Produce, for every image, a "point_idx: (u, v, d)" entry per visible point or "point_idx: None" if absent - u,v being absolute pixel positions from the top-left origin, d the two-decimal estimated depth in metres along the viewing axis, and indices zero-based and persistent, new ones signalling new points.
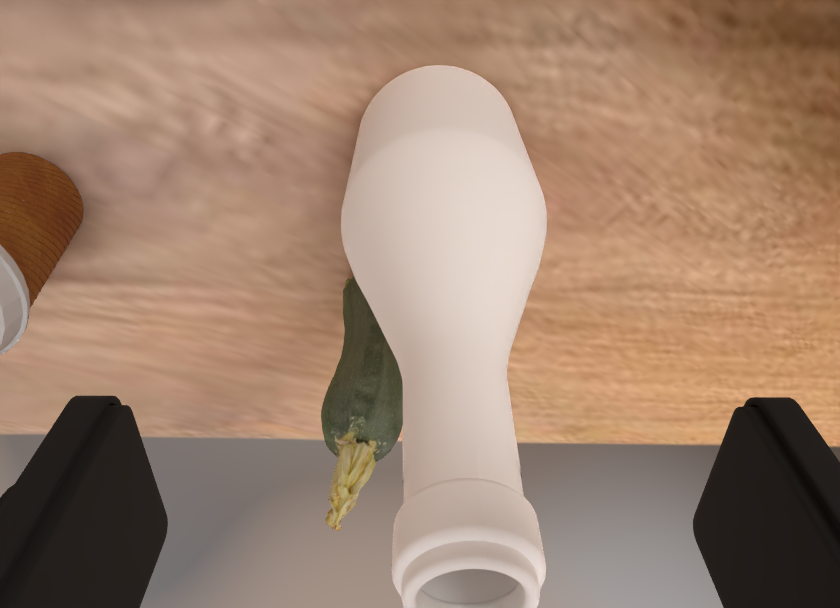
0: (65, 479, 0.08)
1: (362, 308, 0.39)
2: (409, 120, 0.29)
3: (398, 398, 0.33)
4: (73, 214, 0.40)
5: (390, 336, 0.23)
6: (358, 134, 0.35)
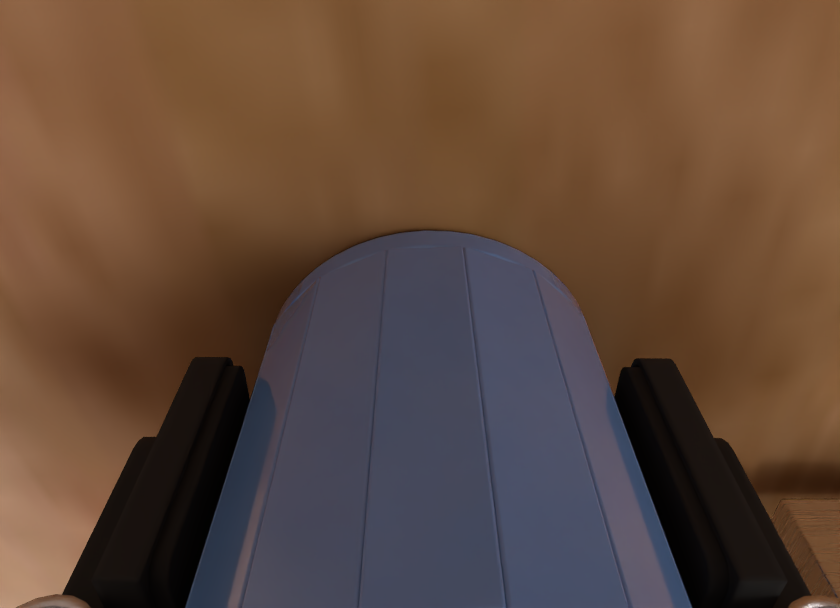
0: (199, 430, 0.09)
1: None
2: None
3: None
4: None
5: None
6: None
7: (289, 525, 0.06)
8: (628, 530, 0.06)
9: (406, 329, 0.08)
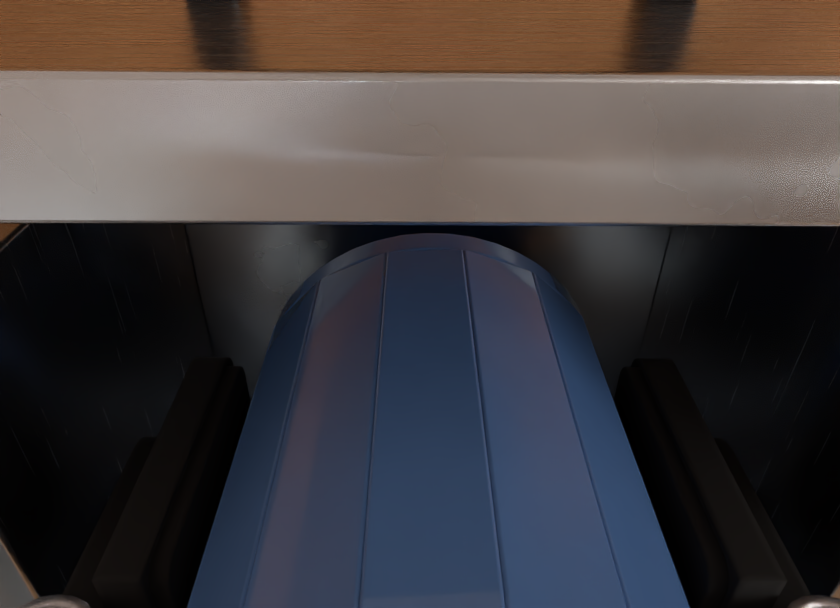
0: (199, 430, 0.09)
1: None
2: None
3: None
4: None
5: None
6: None
7: (290, 528, 0.06)
8: (627, 533, 0.06)
9: (405, 331, 0.08)
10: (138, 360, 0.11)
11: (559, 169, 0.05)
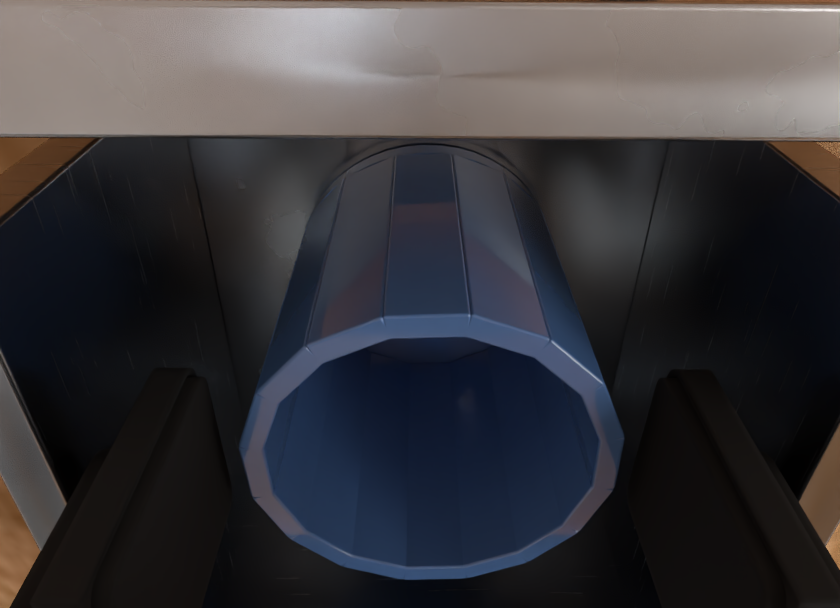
0: (155, 443, 0.09)
1: None
2: None
3: None
4: None
5: None
6: None
7: (336, 293, 0.10)
8: (554, 304, 0.10)
9: (410, 197, 0.12)
10: (157, 311, 0.12)
11: (537, 87, 0.06)
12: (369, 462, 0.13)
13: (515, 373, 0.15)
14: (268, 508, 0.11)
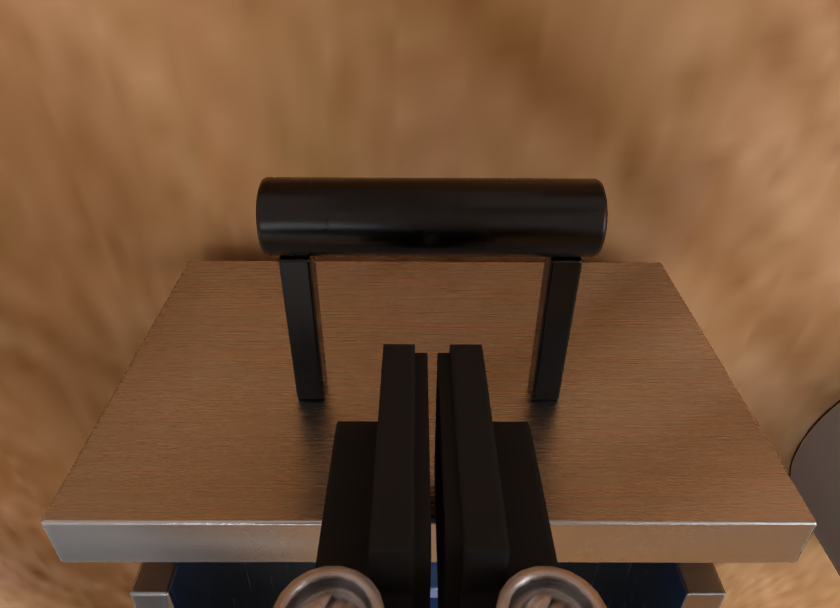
0: (407, 412, 0.09)
1: None
2: None
3: None
4: None
5: None
6: None
7: None
8: None
9: None
10: None
11: None
12: None
13: None
14: None
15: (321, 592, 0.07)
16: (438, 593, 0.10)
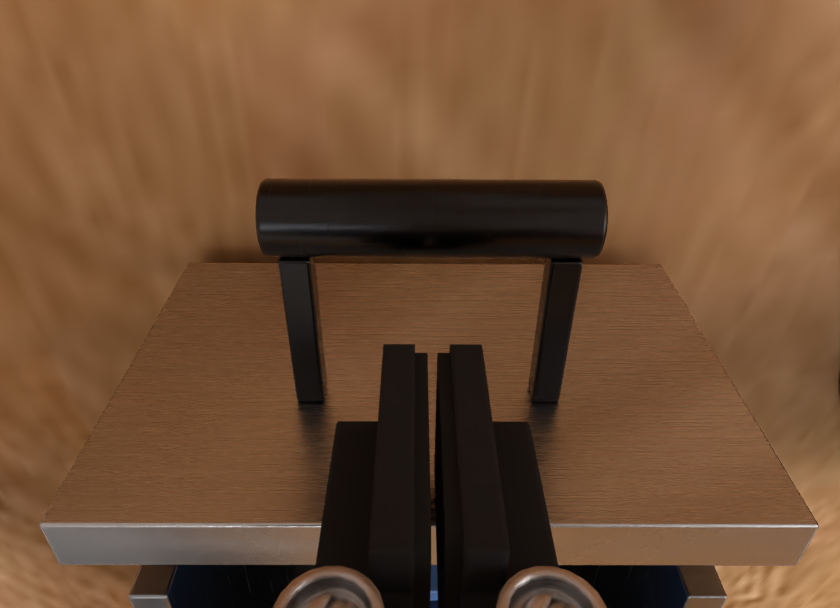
0: (408, 412, 0.09)
1: None
2: None
3: None
4: None
5: None
6: None
7: None
8: None
9: None
10: None
11: None
12: None
13: None
14: None
15: (321, 592, 0.07)
16: (438, 593, 0.10)
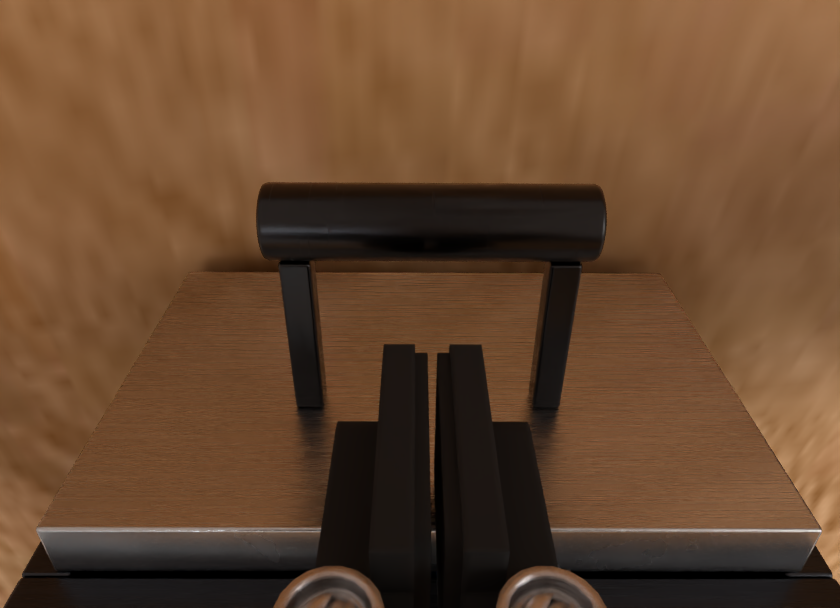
0: (407, 412, 0.09)
1: None
2: None
3: None
4: None
5: None
6: None
7: None
8: None
9: None
10: None
11: None
12: None
13: None
14: None
15: (322, 592, 0.07)
16: (438, 593, 0.10)
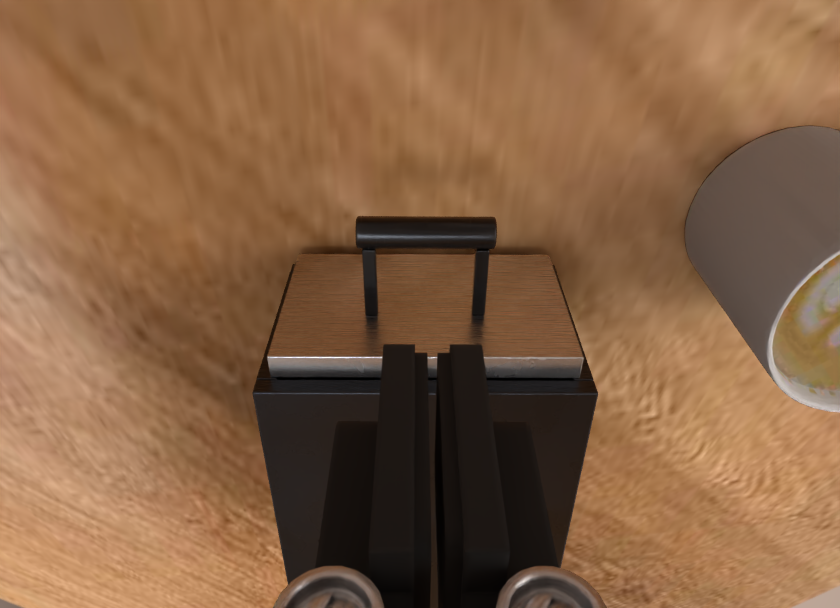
0: (408, 412, 0.09)
1: None
2: None
3: None
4: None
5: None
6: None
7: None
8: None
9: None
10: None
11: None
12: None
13: None
14: None
15: (321, 592, 0.07)
16: (438, 593, 0.10)
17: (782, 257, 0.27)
